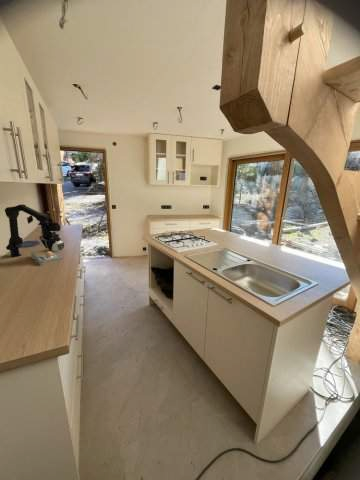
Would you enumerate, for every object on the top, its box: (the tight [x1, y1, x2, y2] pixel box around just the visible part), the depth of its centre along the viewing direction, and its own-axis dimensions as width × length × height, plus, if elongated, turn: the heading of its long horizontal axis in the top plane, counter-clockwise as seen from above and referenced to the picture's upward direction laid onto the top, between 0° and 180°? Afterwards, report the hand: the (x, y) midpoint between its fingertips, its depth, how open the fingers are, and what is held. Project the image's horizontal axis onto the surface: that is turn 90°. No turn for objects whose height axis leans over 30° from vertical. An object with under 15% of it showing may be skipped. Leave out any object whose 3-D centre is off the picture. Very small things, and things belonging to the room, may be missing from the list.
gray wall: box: [30, 251, 44, 266], centre depth 158 cm, size 24×2×4 cm, turn 48°
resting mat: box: [37, 252, 63, 264], centre depth 166 cm, size 16×14×1 cm
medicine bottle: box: [51, 236, 65, 252], centre depth 184 cm, size 7×7×12 cm
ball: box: [44, 250, 53, 257], centre depth 165 cm, size 5×5×5 cm
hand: (48, 249), depth 164 cm, fingers open, 9 cm apart
